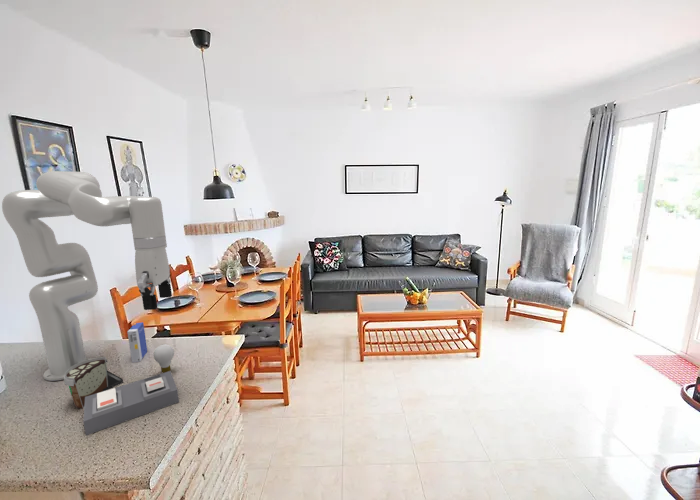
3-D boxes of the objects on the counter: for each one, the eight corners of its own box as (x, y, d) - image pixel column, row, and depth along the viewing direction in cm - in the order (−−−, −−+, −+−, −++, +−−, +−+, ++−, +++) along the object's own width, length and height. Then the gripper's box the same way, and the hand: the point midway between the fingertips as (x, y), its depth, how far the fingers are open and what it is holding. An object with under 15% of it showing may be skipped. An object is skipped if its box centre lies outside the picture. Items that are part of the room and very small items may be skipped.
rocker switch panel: (87, 409, 91) (84, 393, 90) (171, 382, 103) (170, 367, 102) (85, 435, 82) (82, 417, 81) (179, 401, 94) (177, 386, 93)
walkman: (139, 352, 122) (134, 322, 120) (147, 351, 123) (143, 321, 121) (131, 363, 115) (126, 331, 113) (140, 361, 116) (135, 330, 113)
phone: (101, 367, 111) (124, 379, 104) (101, 370, 111) (124, 382, 104) (72, 378, 104) (95, 393, 97) (73, 382, 105) (95, 396, 97)
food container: (92, 385, 102) (87, 355, 100) (111, 385, 102) (106, 355, 100) (56, 411, 90) (49, 379, 88) (78, 412, 90) (72, 379, 88)
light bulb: (167, 379, 105) (164, 350, 103) (152, 377, 106) (147, 348, 104) (180, 369, 111) (177, 341, 109) (165, 367, 112) (161, 340, 110)
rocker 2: (146, 386, 94) (145, 381, 94) (161, 381, 96) (161, 376, 96) (147, 391, 90) (147, 387, 90) (164, 386, 92) (163, 381, 92)
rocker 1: (97, 396, 88) (96, 393, 87) (115, 391, 90) (115, 387, 90) (98, 411, 84) (97, 407, 83) (117, 405, 86) (116, 401, 85)
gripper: (150, 238, 97) (157, 294, 100) (117, 249, 80) (128, 315, 83) (177, 237, 97) (183, 292, 101) (150, 248, 81) (159, 313, 84)
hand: (158, 302), depth 92 cm, fingers open, 9 cm apart
